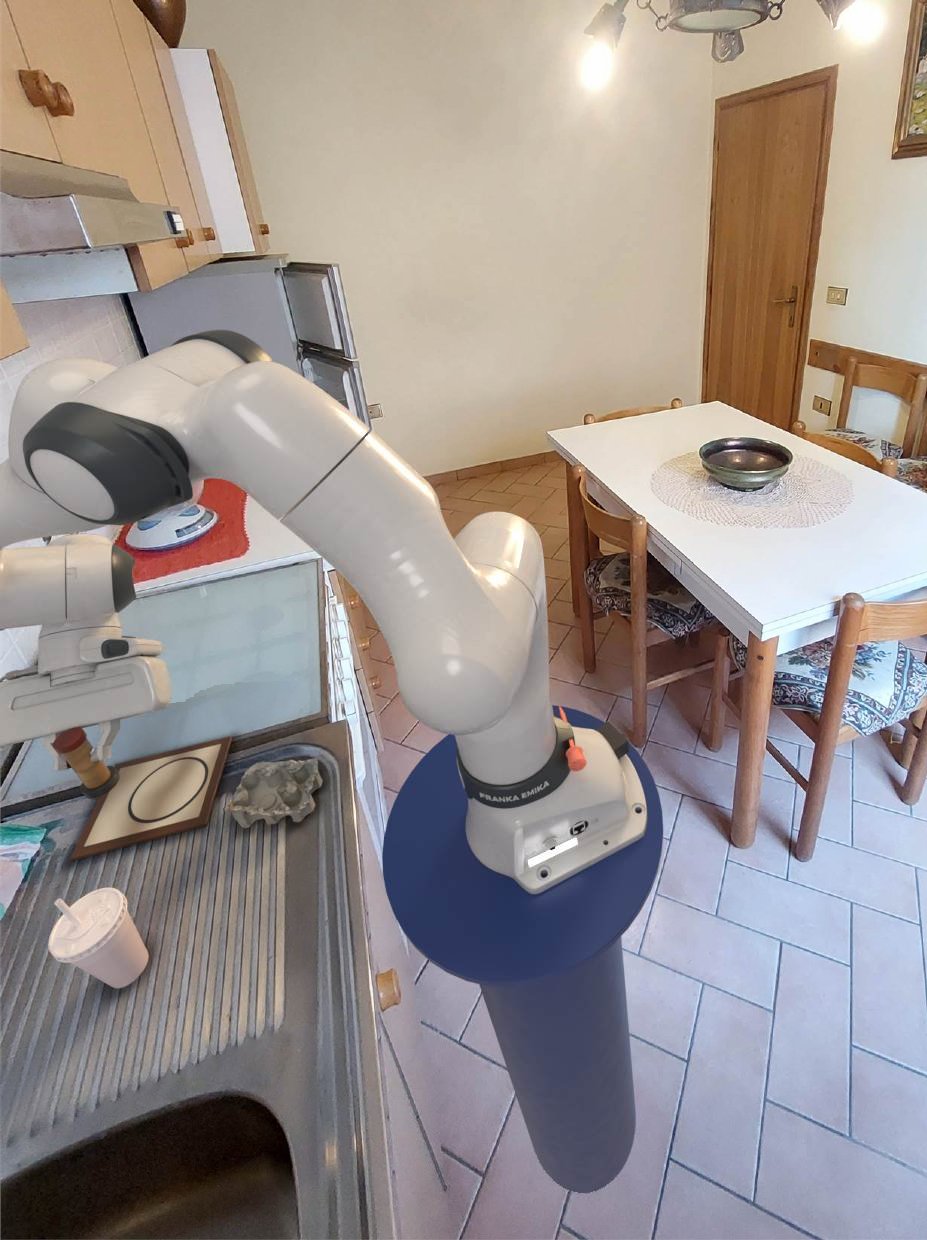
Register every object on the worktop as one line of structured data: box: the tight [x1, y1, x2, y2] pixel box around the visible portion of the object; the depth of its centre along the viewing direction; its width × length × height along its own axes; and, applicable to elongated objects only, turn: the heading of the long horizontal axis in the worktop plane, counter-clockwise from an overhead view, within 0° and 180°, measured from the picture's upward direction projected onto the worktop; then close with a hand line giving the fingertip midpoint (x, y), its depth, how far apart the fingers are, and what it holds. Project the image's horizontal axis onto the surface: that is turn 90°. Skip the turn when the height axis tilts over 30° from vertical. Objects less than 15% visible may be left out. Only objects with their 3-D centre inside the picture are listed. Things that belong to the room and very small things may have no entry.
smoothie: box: [47, 887, 149, 989], centre depth 61 cm, size 6×6×14 cm
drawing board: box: [69, 735, 234, 862], centre depth 82 cm, size 16×14×1 cm
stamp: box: [53, 727, 120, 800], centre depth 77 cm, size 4×4×9 cm
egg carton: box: [222, 757, 323, 829], centre depth 79 cm, size 11×8×4 cm
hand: (83, 765), depth 77 cm, fingers closed on stamp, 3 cm apart
